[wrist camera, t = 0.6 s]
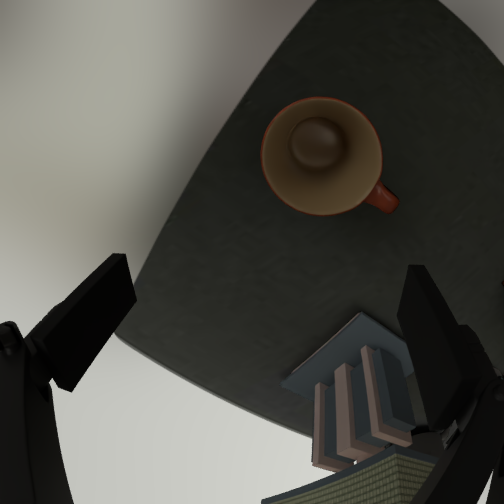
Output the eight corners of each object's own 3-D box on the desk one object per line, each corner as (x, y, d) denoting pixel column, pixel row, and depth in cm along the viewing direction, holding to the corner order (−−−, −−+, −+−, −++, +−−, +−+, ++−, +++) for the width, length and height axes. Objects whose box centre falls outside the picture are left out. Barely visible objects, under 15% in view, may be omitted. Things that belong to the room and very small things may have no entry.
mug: (256, 153, 31) (237, 174, 22) (302, 83, 28) (303, 72, 18) (351, 215, 33) (368, 260, 24) (398, 151, 29) (436, 173, 20)
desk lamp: (363, 297, 37) (400, 584, 8) (428, 344, 39) (480, 559, 10) (277, 375, 45) (242, 588, 16) (344, 408, 47) (341, 590, 18)
